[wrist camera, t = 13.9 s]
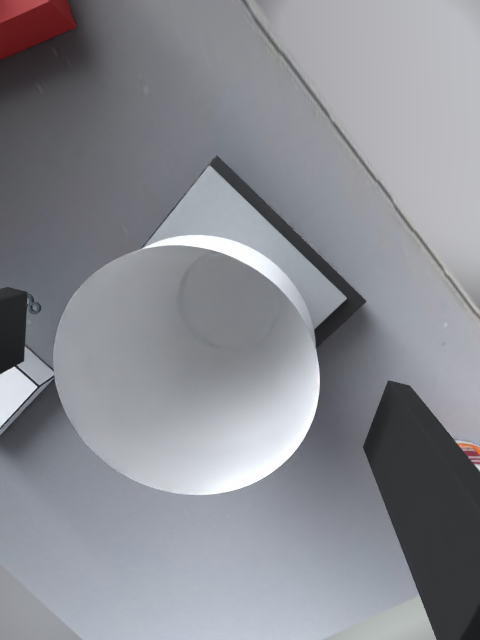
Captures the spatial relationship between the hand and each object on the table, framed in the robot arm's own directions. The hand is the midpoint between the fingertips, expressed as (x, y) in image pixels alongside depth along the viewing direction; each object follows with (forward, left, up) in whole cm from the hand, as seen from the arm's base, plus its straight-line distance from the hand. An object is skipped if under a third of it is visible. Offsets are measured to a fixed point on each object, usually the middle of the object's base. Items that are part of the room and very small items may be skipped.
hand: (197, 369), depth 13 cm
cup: (0, 0, -11) cm, 11 cm away
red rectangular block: (+24, -4, -15) cm, 28 cm away
